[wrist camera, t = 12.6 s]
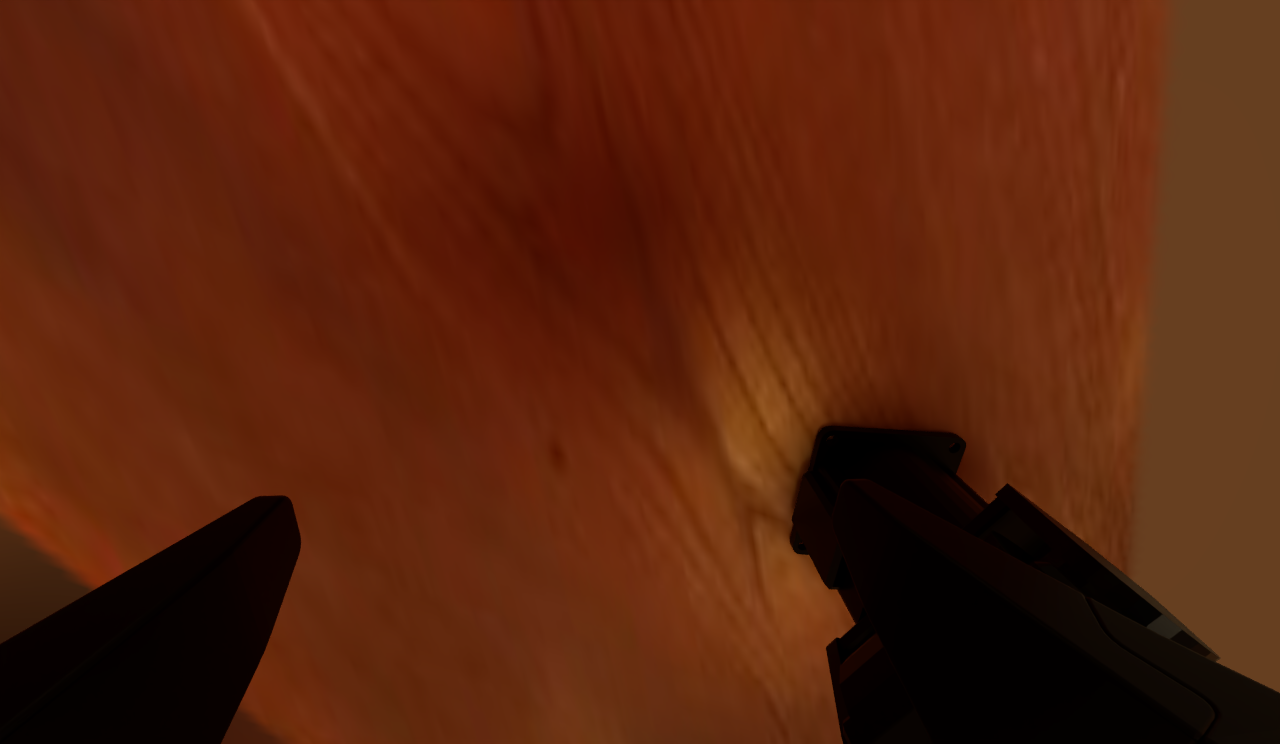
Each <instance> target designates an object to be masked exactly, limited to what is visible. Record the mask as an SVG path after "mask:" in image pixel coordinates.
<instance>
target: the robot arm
mask: <svg viewBox="0 0 1280 744" xmlns="http://www.w3.org/2000/svg"><path fill="white" fill-rule="evenodd" d="M830 436H834V438H833V439H832V440H831V441H826V440H827V438H828V437H830ZM953 443H955V444H954V445H953V446H952V447H951V448H949V447H950V445H952V444H953ZM965 448H966V443H965V441H964V440H963V439H962V438H961V437H959V436H958V435H957V434H954V433H941V432H925V431H908V430H892V429H875V428H859V427H842V426H826V427H824V428H822V429H821V430H820V431H819V433H818V435H817V438H816V442H815V446H814V449H813V453H812V457H811V461H810V465H809V469H808V471H806V473H805V474H804V475H803V477H802V481H801V485H800V489H799V493H798V497H797V501H796V505H795V509H794V512H793V516H792V522H793V524H794V526H793V530H792V534H791V538H790V544H791V546H792V548H793V550H794V552H796V553H797V554H804V555H810V557H811V559H812V561H813V563H814V565H815V567H816V569H817V571H818V573H819V575H820V577H821V579H822V580H823V582H824V584H825V585H826V586H827V587H828V588H829V589H837V590H838V592H839V594H840V596H841V598H842V599H843V601H844V603H845V605H846V607H847V609H848V611H849V613H850V614H851V616H852V618H853V620H854V622H855V624H856V625H854V626H853V627H852V628H851V629H850V630H849V631H848V632H847V633H846V634H844V635H843V636H842V637H841V638H835V639H834V640H833V641H832V642H831V643H830V644H829V645H828V646H827V647H826V651H827V657H828V662H829V668H830V674H831V680H832V685H833V691H834V697H835V702H836V708H837V714H838V720H839V725H840V731H841V737H842V741H843V744H1280V693H1279V692H1277V691H1275V690H1273V689H1271V688H1268V687H1267V686H1265V685H1262V684H1260V683H1258V682H1256V681H1254V680H1252V679H1250V678H1248V677H1246V676H1244V675H1242V674H1240V673H1238V672H1235V671H1233V670H1231V669H1229V668H1227V667H1225V666H1223V665H1221V664H1219V663H1217V662H1216V661H1217V660H1219V659H1220V657H1219V656H1218V655H1217V654H1216V653H1215V652H1214V651H1212V650H1211V649H1210V648H1209V647H1208V646H1207V645H1206V644H1205V643H1204V642H1202V641H1201V640H1200V639H1199V638H1198V637H1197V636H1196V635H1195V634H1194V633H1192V632H1191V631H1190V630H1189V629H1188V628H1187V627H1186V626H1185V625H1184V624H1182V623H1181V622H1180V621H1179V620H1178V619H1177V618H1176V617H1175V616H1173V615H1172V614H1171V613H1170V612H1169V611H1168V610H1167V609H1166V608H1165V607H1164V606H1162V605H1161V604H1160V603H1159V602H1158V601H1157V600H1156V599H1155V598H1153V597H1152V596H1151V595H1150V594H1149V593H1147V592H1146V591H1145V590H1144V589H1142V588H1141V587H1140V586H1139V585H1137V584H1136V583H1135V582H1134V581H1132V580H1131V579H1130V578H1129V577H1128V576H1126V575H1125V574H1124V573H1123V572H1121V571H1120V570H1119V569H1118V568H1116V567H1115V566H1114V565H1113V564H1111V563H1110V562H1109V561H1108V560H1106V559H1105V558H1104V557H1103V556H1102V555H1100V554H1099V553H1098V552H1097V551H1095V550H1094V549H1093V548H1092V547H1090V546H1089V545H1088V544H1087V543H1085V542H1084V541H1083V540H1081V539H1080V538H1079V537H1077V536H1076V535H1075V534H1073V533H1072V532H1071V531H1069V530H1068V529H1067V528H1066V527H1064V526H1063V525H1062V524H1060V523H1059V522H1058V521H1056V520H1055V519H1054V518H1052V517H1051V516H1050V515H1048V514H1047V513H1046V512H1045V511H1043V510H1042V509H1041V508H1039V507H1038V506H1037V505H1035V504H1034V503H1033V502H1031V501H1030V500H1029V499H1027V498H1026V497H1025V496H1024V495H1022V494H1021V493H1020V492H1018V491H1017V490H1016V489H1014V488H1013V487H1012V486H1010V485H1009V484H1008V483H1007V484H1006V485H1005V486H1004V487H1003V488H1002V489H1001V490H1000V491H998V492H997V493H996V494H995V495H996V496H997V498H996V499H995V500H993V501H992V502H991V503H990V504H988V503H987V502H985V501H984V500H983V499H982V498H981V497H980V496H979V495H978V494H977V493H976V492H975V491H974V490H973V489H971V488H970V487H969V486H968V485H967V484H966V483H965V482H964V481H963V480H962V479H961V478H960V477H958V476H957V475H956V472H957V469H958V467H959V464H960V462H961V459H962V456H963V454H964V451H965ZM801 542H803V544H799V543H801ZM300 548H301V537H300V532H299V528H298V524H297V520H296V516H295V512H294V508H293V504H292V502H291V500H290V499H289V498H288V497H286V496H283V495H281V496H258V497H255V498H253V499H251V500H250V501H248V502H246V503H244V504H243V505H241V506H239V507H237V508H236V509H234V510H232V511H230V512H229V513H227V514H225V515H223V516H222V517H220V518H218V519H217V520H215V521H213V522H211V523H210V524H208V525H206V526H204V527H203V528H201V529H199V530H197V531H196V532H194V533H192V534H190V535H189V536H187V537H185V538H184V539H182V540H180V541H178V542H177V543H175V544H173V545H171V546H170V547H168V548H166V549H164V550H163V551H161V552H159V553H157V554H156V555H154V556H152V557H150V558H149V559H147V560H145V561H144V562H142V563H140V564H138V565H137V566H135V567H133V568H131V569H130V570H128V571H126V572H124V573H123V574H121V575H119V576H117V577H116V578H114V579H112V580H110V581H109V582H107V583H105V584H104V585H102V586H100V587H98V588H97V589H95V590H93V591H91V592H90V593H88V594H86V595H84V596H83V597H81V598H79V599H78V600H76V601H74V602H72V603H71V604H69V605H67V606H65V607H63V608H62V609H60V610H58V611H57V612H55V613H53V614H51V615H50V616H48V617H46V618H44V619H43V620H41V621H39V622H38V623H36V624H34V625H32V626H30V627H29V628H27V629H25V630H23V631H22V632H20V633H19V634H17V635H15V636H13V637H11V638H10V639H8V640H6V641H4V642H3V643H1V644H0V744H221V742H222V740H223V738H224V736H225V734H226V732H227V730H228V728H229V726H230V724H231V721H232V719H233V717H234V715H235V713H236V711H237V709H238V707H239V705H240V703H241V700H242V698H243V696H244V694H245V692H246V690H247V688H248V686H249V684H250V682H251V680H252V677H253V675H254V673H255V671H256V669H257V667H258V665H259V662H260V660H261V658H262V656H263V654H264V651H265V649H266V646H267V644H268V641H269V638H270V636H271V633H272V630H273V627H274V625H275V622H276V619H277V616H278V613H279V610H280V607H281V605H282V602H283V599H284V596H285V593H286V590H287V587H288V585H289V582H290V579H291V576H292V573H293V570H294V567H295V565H296V562H297V559H298V556H299V553H300Z"/></svg>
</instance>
